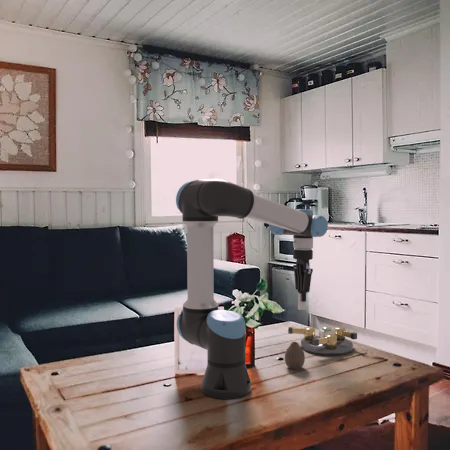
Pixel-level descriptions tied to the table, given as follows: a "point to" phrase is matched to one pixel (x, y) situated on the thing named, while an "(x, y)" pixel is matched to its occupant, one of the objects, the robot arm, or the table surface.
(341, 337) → the brass elongated piece
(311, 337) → the knob
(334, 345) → the knob
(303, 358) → the brown egg-shaped piece
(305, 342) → the levelling base
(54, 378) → the table surface
